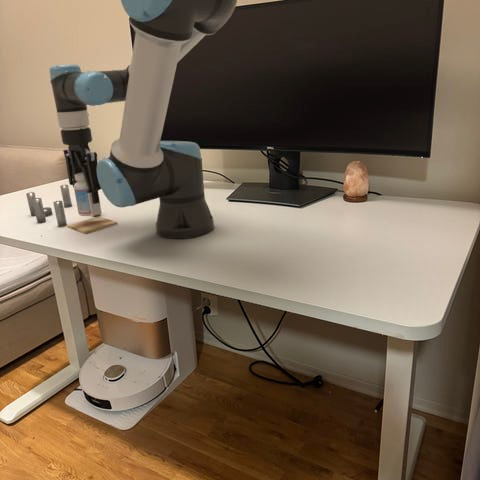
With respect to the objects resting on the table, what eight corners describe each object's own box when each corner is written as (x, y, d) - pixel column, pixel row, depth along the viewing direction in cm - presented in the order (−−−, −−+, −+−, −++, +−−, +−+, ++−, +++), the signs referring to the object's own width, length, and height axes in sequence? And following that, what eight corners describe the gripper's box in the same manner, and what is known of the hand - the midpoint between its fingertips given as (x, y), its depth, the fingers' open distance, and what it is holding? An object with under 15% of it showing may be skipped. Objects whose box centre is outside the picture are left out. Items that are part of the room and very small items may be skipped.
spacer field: (108, 213, 141) (104, 191, 139) (53, 229, 130) (48, 205, 127) (75, 203, 155) (71, 183, 152) (23, 217, 143) (18, 195, 141)
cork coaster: (117, 224, 131) (117, 222, 131) (85, 234, 124) (85, 232, 124) (99, 218, 137) (98, 216, 137) (67, 227, 131) (67, 225, 131)
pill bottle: (95, 217, 126) (88, 176, 122) (74, 216, 128) (67, 176, 124) (105, 210, 132) (99, 171, 128) (85, 210, 133) (78, 171, 129)
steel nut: (54, 213, 146) (53, 207, 145) (49, 217, 142) (47, 210, 141) (42, 213, 146) (41, 207, 145) (36, 217, 142) (35, 211, 142)
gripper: (107, 127, 118) (120, 214, 126) (70, 124, 130) (85, 203, 138) (80, 131, 113) (96, 222, 121) (44, 128, 125) (61, 210, 133)
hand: (90, 212), depth 130 cm, fingers closed on pill bottle, 6 cm apart
